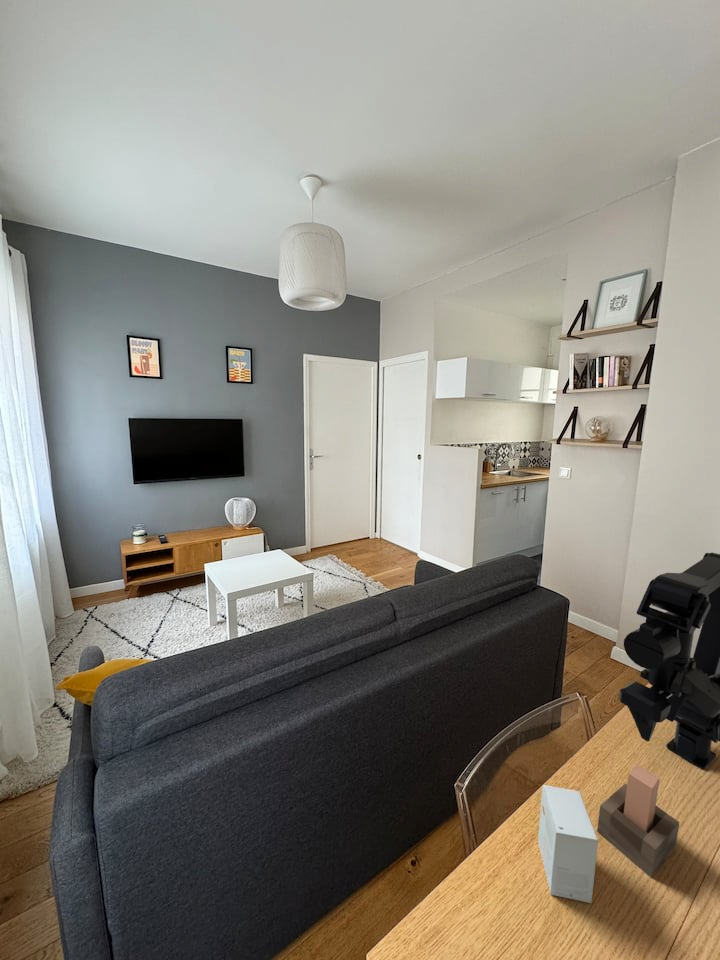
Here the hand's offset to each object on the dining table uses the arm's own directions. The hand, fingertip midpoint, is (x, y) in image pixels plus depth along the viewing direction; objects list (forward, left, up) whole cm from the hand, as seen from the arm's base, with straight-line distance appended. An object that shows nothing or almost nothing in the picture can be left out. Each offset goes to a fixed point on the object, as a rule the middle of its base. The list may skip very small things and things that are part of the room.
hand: (657, 729), depth 72 cm
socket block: (+11, +3, -13) cm, 18 cm away
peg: (+11, +3, -12) cm, 17 cm away
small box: (+26, -1, -13) cm, 29 cm away
